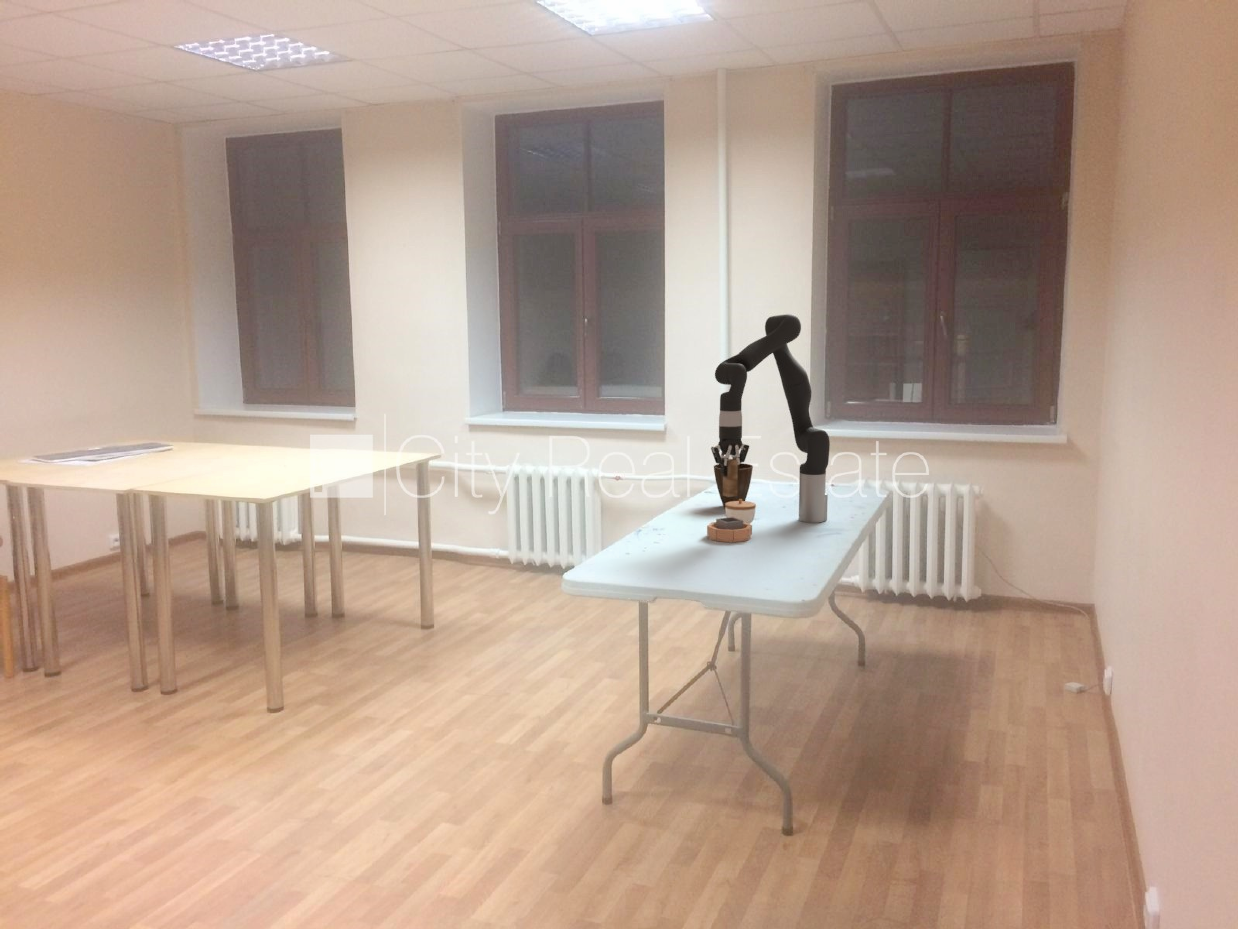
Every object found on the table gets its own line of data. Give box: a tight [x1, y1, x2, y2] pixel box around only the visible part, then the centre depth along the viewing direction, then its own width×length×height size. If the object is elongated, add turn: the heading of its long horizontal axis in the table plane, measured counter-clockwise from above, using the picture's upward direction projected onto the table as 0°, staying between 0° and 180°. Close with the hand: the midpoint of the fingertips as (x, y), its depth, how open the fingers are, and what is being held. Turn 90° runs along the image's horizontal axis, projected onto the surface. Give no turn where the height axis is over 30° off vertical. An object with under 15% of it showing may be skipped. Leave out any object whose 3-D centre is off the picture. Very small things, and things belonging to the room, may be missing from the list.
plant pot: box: [713, 462, 754, 508], centre depth 373 cm, size 15×15×16 cm
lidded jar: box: [724, 499, 757, 525], centre depth 341 cm, size 11×11×9 cm
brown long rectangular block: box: [723, 458, 738, 497], centre depth 321 cm, size 4×4×12 cm
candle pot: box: [706, 517, 753, 543], centre depth 323 cm, size 14×14×6 cm
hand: (730, 475), depth 320 cm, fingers closed on brown long rectangular block, 3 cm apart
